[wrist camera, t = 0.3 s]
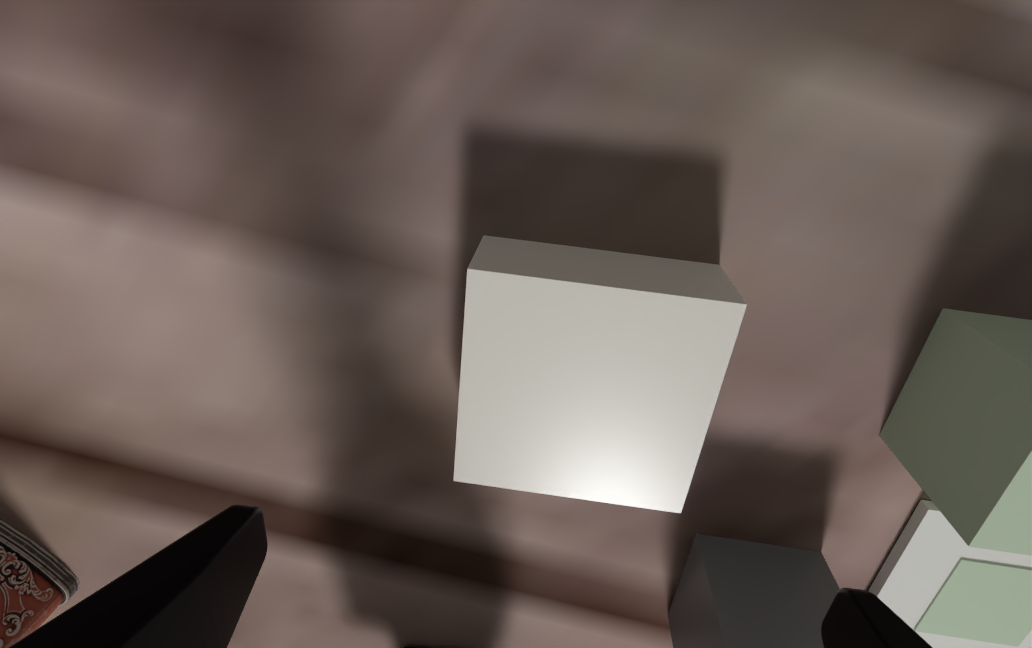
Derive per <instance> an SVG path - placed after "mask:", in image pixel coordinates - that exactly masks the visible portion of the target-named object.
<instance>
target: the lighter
mask: <svg viewBox="0 0 1032 648" xmlns="http://www.w3.org/2000/svg"><path fill="white" fill-rule="evenodd" d="M78 588H79V581H78V579H77V578H76V576H75V575H74V574H73V573H72V572H71V571H69V570H68V569H67V568H66V567H65V566H64V565H63V564H61V563H60V562H59V561H58V560H57V559H56V558H55V557H54V556H52V555H51V554H50V553H48V552H47V551H46V550H44V549H43V548H42V547H40V546H39V545H38V544H36V543H35V542H34V541H33V540H31V539H30V538H28V537H27V536H25V535H24V534H22V533H20V532H19V531H17V530H16V529H14V528H13V527H11V526H10V525H8V524H7V523H5V522H3V521H1V520H0V648H9V647H10V646H12V645H13V644H15V643H16V642H18V641H20V640H21V639H23V638H24V637H26V636H27V635H29V634H31V633H32V632H34V631H35V630H37V629H38V628H39V626H40V625H41V624H42V623H43V622H44V621H45V620H46V619H47V618H48V617H49V616H50V615H51V613H52V612H53V611H54V610H55V609H56V608H57V607H59V606H62V605H64V604H65V603H66V602H67V601H68V600H69V599H70V597H71V596H72V595H73V594H74V593H75V592H76V591H77V590H78Z"/></svg>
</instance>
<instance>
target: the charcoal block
mask: <svg viewBox="0 0 1032 648" xmlns="http://www.w3.org/2000/svg"><path fill="white" fill-rule="evenodd" d="M839 590H840V589H839V587H838V585H837V583H836V581H835V579H834V577H833V575H832V573H831V571H830V569H829V567H828V565H827V563H826V561H825V559H824V557H823V555H822V553H821V552H818V551H811V550H804V549H798V548H791V547H784V546H777V545H771V544H764V543H757V542H751V541H744V540H737V539H730V538H724V537H717V536H710V535H703V534H697V533H696V535H695V538H694V541H693V544H692V547H691V550H690V553H689V555H688V558H687V561H686V564H685V567H684V570H683V573H682V575H681V578H680V581H679V584H678V587H677V590H676V593H675V595H674V598H673V601H672V604H671V607H670V610H669V613H668V619H669V625H670V630H671V636H672V642H673V648H824V646H823V642H822V637H821V625H822V621H823V619H824V617H825V615H826V613H827V611H828V609H829V607H830V605H831V603H832V601H833V599H834V597H835V595H836V593H837V592H838V591H839Z"/></svg>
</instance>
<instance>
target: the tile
mask: <svg viewBox="0 0 1032 648" xmlns="http://www.w3.org/2000/svg"><path fill="white" fill-rule="evenodd" d="M868 591H869V592H871V593H873V594H874V595H876V596H877V597H878V598H879V599H880V600H881V601H882V602H883V603H885V604H886V605H887V606H888V607H889V608H890V609H891V610H892V611H893V612H894V613H895V614H897V615H898V616H899V617H900V618H901V619H902V620H903V621H904V622H905V623H906V624H908V625H909V626H910V627H911V628H912V629H913V630H914V631H915V632H916V633H917V634H918V635H920V636H921V637H922V638H923V639H924V640H925V641H926V642H927V643H928V644H929V645H931V646H932V647H933V648H1032V556H1030V555H1023V554H1016V553H1010V552H1003V551H996V550H989V549H982V548H976V547H969V546H968V545H967V544H966V543H965V542H964V540H963V539H962V538H961V537H960V535H959V534H958V533H957V532H956V530H955V529H954V528H953V527H952V525H951V524H950V523H949V522H948V520H947V519H946V518H945V517H944V516H943V514H942V513H941V512H940V511H939V509H938V508H937V507H936V506H935V504H934V503H933V502H932V501H927V500H920V502H919V504H918V506H917V507H916V509H915V511H914V513H913V514H912V516H911V518H910V519H909V521H908V523H907V525H906V526H905V528H904V530H903V532H902V533H901V535H900V537H899V538H898V540H897V542H896V544H895V545H894V547H893V549H892V551H891V552H890V554H889V556H888V558H887V559H886V561H885V563H884V564H883V566H882V568H881V570H880V571H879V573H878V575H877V577H876V578H875V580H874V582H873V583H872V585H871V587H870V589H869V590H868Z"/></svg>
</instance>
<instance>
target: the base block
mask: <svg viewBox="0 0 1032 648" xmlns="http://www.w3.org/2000/svg"><path fill="white" fill-rule="evenodd" d="M746 306H747V304H746V302H745V301H744V300H743V298H742V297H741V295H740V294H739V292H738V291H737V289H736V288H735V287H734V285H733V284H732V282H731V281H730V279H729V278H728V276H727V275H726V274H725V272H724V271H723V269H722V268H721V266H720V265H717V264H709V263H701V262H693V261H685V260H677V259H669V258H661V257H653V256H645V255H637V254H629V253H622V252H614V251H606V250H598V249H590V248H582V247H574V246H566V245H558V244H550V243H542V242H534V241H526V240H518V239H510V238H502V237H494V236H486V235H483V237H482V240H481V242H480V244H479V246H478V248H477V250H476V252H475V254H474V256H473V258H472V260H471V262H470V264H469V266H468V268H467V281H466V296H465V312H464V327H463V342H462V357H461V372H460V388H459V403H458V418H457V433H456V449H455V464H454V479H453V481H457V482H464V483H471V484H478V485H485V486H492V487H499V488H506V489H513V490H520V491H527V492H534V493H541V494H548V495H555V496H562V497H570V498H577V499H584V500H591V501H598V502H605V503H612V504H619V505H626V506H633V507H640V508H647V509H654V510H661V511H668V512H675V513H681V512H682V509H683V506H684V502H685V499H686V496H687V493H688V490H689V487H690V483H691V480H692V477H693V474H694V471H695V468H696V464H697V461H698V458H699V455H700V452H701V449H702V445H703V442H704V439H705V436H706V433H707V430H708V426H709V423H710V420H711V417H712V414H713V410H714V407H715V404H716V401H717V398H718V395H719V391H720V388H721V385H722V382H723V379H724V376H725V372H726V369H727V366H728V363H729V360H730V357H731V353H732V350H733V347H734V344H735V341H736V338H737V334H738V331H739V328H740V325H741V322H742V319H743V315H744V312H745V309H746Z"/></svg>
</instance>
